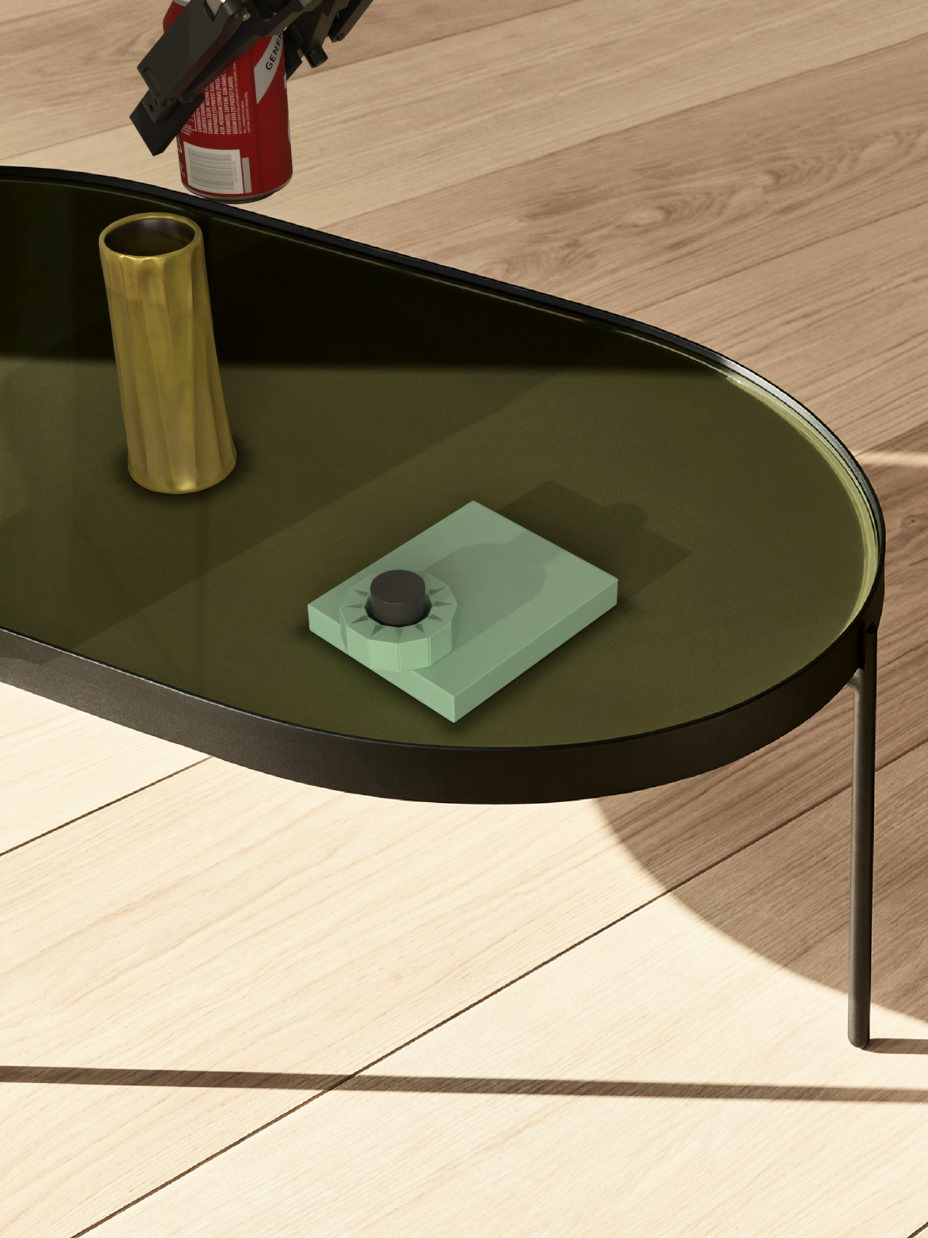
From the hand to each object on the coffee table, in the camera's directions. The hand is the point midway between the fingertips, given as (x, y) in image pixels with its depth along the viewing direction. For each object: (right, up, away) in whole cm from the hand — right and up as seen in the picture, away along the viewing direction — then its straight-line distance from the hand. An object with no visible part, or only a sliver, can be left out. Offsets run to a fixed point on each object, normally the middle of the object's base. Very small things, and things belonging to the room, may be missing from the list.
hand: (194, 115), depth 102 cm
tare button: (+13, -30, -22) cm, 40 cm away
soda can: (+3, -4, 0) cm, 5 cm away
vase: (0, -22, -7) cm, 23 cm away
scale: (+16, -30, -17) cm, 39 cm away
